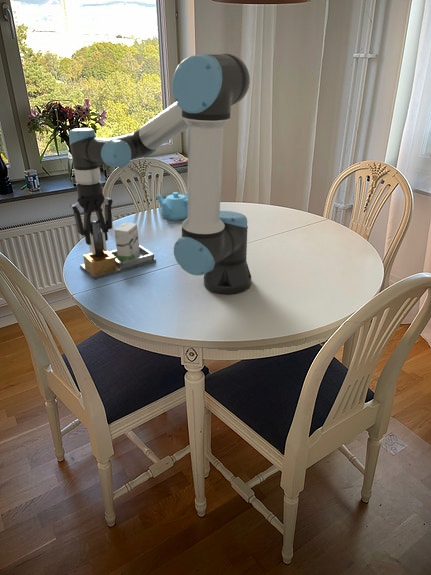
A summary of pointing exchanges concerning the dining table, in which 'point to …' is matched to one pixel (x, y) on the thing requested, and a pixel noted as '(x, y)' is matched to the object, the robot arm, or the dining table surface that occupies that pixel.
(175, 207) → the teapot
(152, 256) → the two-compartment tray
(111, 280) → the dining table surface
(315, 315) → the dining table surface
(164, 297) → the dining table surface
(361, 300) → the dining table surface
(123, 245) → the ink box
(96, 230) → the round pin
